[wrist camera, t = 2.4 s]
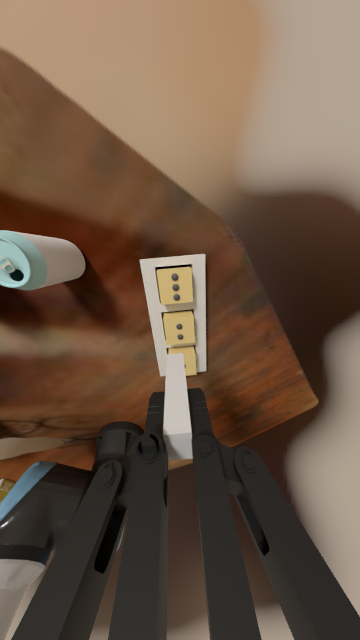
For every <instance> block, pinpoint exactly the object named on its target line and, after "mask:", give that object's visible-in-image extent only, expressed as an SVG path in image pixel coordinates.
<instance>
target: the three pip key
mask: <svg viewBox="0 0 360 640" xmlns="http://www.w3.org/2000/svg"><path fill="white" fill-rule="evenodd" d="M157 278H158V286H159V293H160V300H161V305H166V304H176V303H186V302H193V297H194V294H193V282H192V278H193V272H192V268H191V267H180V268H169V269H158V270H157Z"/></svg>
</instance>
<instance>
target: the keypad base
mask: <svg viewBox="0 0 360 640" xmlns="http://www.w3.org/2000/svg"><path fill="white" fill-rule="evenodd" d="M185 264H190V267H191V268H192V272H193V278H192V282H193V294H194V297H193V302H186V303H176V304H166V305H161V300H160V293H159V286H158V279H157V272H156V267H163V266H174V265H185ZM140 265H141V271H142V276H143V282H144V287H145V293H146V299H147V304H148V310H149V315H150V321H151V326H152V332H153V338H154V343H155V349H156V354H157V360H158V366H159V371H160V376H166V364H167V354H168V350H167V348H171V347H180V346H189V345H194V350H195V354H196V363H197V365H196V372H204V371H206V284H205V254H197V255H186V256H174V257H163V258H152V259H141V260H140ZM190 309H193V316H194V321H195V326H194V330H195V343H186V344H176V345H167V343H166V336H165V329H164V322H163V315H162V312H170V311H180V310H190Z"/></svg>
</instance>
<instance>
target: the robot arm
mask: <svg viewBox="0 0 360 640" xmlns="http://www.w3.org/2000/svg"><path fill="white" fill-rule="evenodd" d="M148 407H149V408H148V414H147V420H146V426H145V433H144V432H143V430H142V429H141V428H140V427H139V426H137V425H135V424H132V423H128V422H114V423H110V424H108V425H106V426H104V427H103V428H102V429H101V430H100V432H99V434H98V437H97V440H96V449H95V459H94V464H93V467H92V470H91V471H89V470H85V469H80V468H76V467H71V466H67V465H63V464H59V463H58V462H55V463H54V462H47V461H38V462H36V463H34V464H33V465H32V466H30V467H29V468H28V470H27V471H26V472H25V473H24V474H23V475H22V477H21V478H20V479H19V480H18V482H17V483H16V484H15V485H14V486H13V488H12V489H11V490H10V492H9V493H8V494H7V495H6V497H5V498H4V499H3V500H2V502H1V503H0V640H4V639H5V636H6V634H7V632H8V630H9V627H10V625H11V623H12V620H13V618H14V616H15V613H16V611H17V609H18V606H19V604H20V602H21V600H22V597H23V595H24V593H25V591H26V590H27V588H28V587H29V586H30V585H31V584H32V582H33V581H34V580H35V579H36V578H37V577H38V576H39V575H40V574H41V573H42V572H43V570H44V568H45V566H46V563H47V560H48V558H49V556H50V553H51V554H52V553H54V554H55V555H54V557H53V559H52V561H51V563H50V565H49V567H48V569H47V571H46V573H45V575H44V577H43V578H42V580H41V583H40V584H39V586H38V588H37V590H36V593H35V594H34V596H33V598H32V600H31V602H30V604H29V606H28V608H27V610H26V612H25V614H24V616H23V618H22V620H21V622H20V624H19V626H18V628H17V630H16V631H15V633H14V635H13V637H12V639H11V640H89V638H90V634H91V631H92V628H93V625H94V622H95V618H96V615H97V612H98V609H99V605H100V602H101V599H102V595H103V593H104V589H105V586H106V583H107V580H108V577H109V573H110V570H111V567H112V563H113V560H114V557H115V554H116V552H117V550H118V548H119V546H120V544H121V540H122V535H123V530H124V526H125V522H126V519H127V516H128V521H127V527H126V533H125V539H124V546H123V551H122V557H121V564H120V570H119V576H118V582H117V588H116V594H115V600H114V607H113V612H112V618H111V624H110V631H109V637H108V640H166V631H167V629H166V628H167V559H168V557H167V556H168V485H169V481H168V480H169V477H168V476H169V474H168V461H171V460H181V459H191V458H193V465H194V479H195V487H196V498H197V508H198V519H199V529H200V539H201V550H202V560H203V570H204V581H205V591H206V601H207V612H208V621H209V632H210V640H261V636H260V632H259V627H258V623H257V618H256V614H255V609H254V605H253V601H252V596H251V592H250V587H249V583H248V579H247V574H246V570H245V566H244V561H243V557H242V553H241V548H240V544H239V539H238V535H237V531H236V526H235V522H234V518H233V513H232V509H231V504H230V500H229V496H228V493H230V494H233V495H234V496H235V499H236V501H237V504H238V506H239V508H240V511H241V513H242V515H243V518H244V520H245V523H246V525H247V527H248V529H249V532H250V535H251V537H252V539H253V542H254V544H255V546H256V549H257V551H258V554H259V556H260V558H261V561H262V563H263V565H264V568H265V570H266V573H267V575H268V578H269V580H270V582H271V585H272V587H273V589H274V592H275V594H276V597H277V599H278V601H279V604H280V606H281V609H282V611H283V613H284V616H285V618H286V621H287V623H288V625H289V628H290V630H291V632H292V635H293V637H294V640H360V617H359V615H358V614H357V612H356V610H355V609H354V607H353V605H352V604H351V602H350V601H349V599H348V598H347V596H346V594H345V593H344V591H343V590H342V588H341V586H340V585H339V583H338V581H337V580H336V578H335V577H334V575H333V573H332V572H331V570H330V569H329V567H328V565H327V564H326V562H325V561H324V559H323V557H322V556H321V554H320V553H319V551H318V549H317V548H316V546H315V545H314V543H313V541H312V540H311V538H310V537H309V535H308V533H307V532H306V530H305V529H304V527H303V525H302V524H301V522H300V521H299V519H298V517H297V516H296V514H295V513H294V511H293V509H292V508H291V506H290V505H289V503H288V501H287V500H286V498H285V497H284V495H283V493H282V492H281V490H280V489H279V487H278V485H277V484H276V482H275V481H274V479H273V477H272V476H271V475H270V473H269V471H268V469H267V468H266V466H265V465H264V463H263V461H262V460H261V458H260V457H259V456H258V454H257V453H256V452H255V451H254V450H252V449H251V448H249V447H245V446H244V447H239V448H238V449H234V448H231V447H227V446H225V445H223V444H221V443H220V442H219V441H218V440H217V439H216V438H215V436H214V434H213V431H212V427H211V423H210V418H209V414H208V409H207V405H206V401H205V396H204V393H203V392H202V390H201V389H200V388H193V389H187V384H186V375H185V366H184V356H183V353H176V354H167V364H166V384H165V392H154V393H153V394H152V396H151V398H150V400H149V406H148ZM128 513H129V515H128Z"/></svg>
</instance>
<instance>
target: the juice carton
mask: <svg viewBox="0 0 360 640" xmlns="http://www.w3.org/2000/svg"><path fill="white" fill-rule="evenodd" d="M16 483H17V482H13V481H10V480H7V479H1V480H0V503H1V502H2V500H3V499H4V498H5V497H6V495H7V494H8V493H9V492H10V490H11V489H12V488H13V486H14V485H15V484H16Z"/></svg>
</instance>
